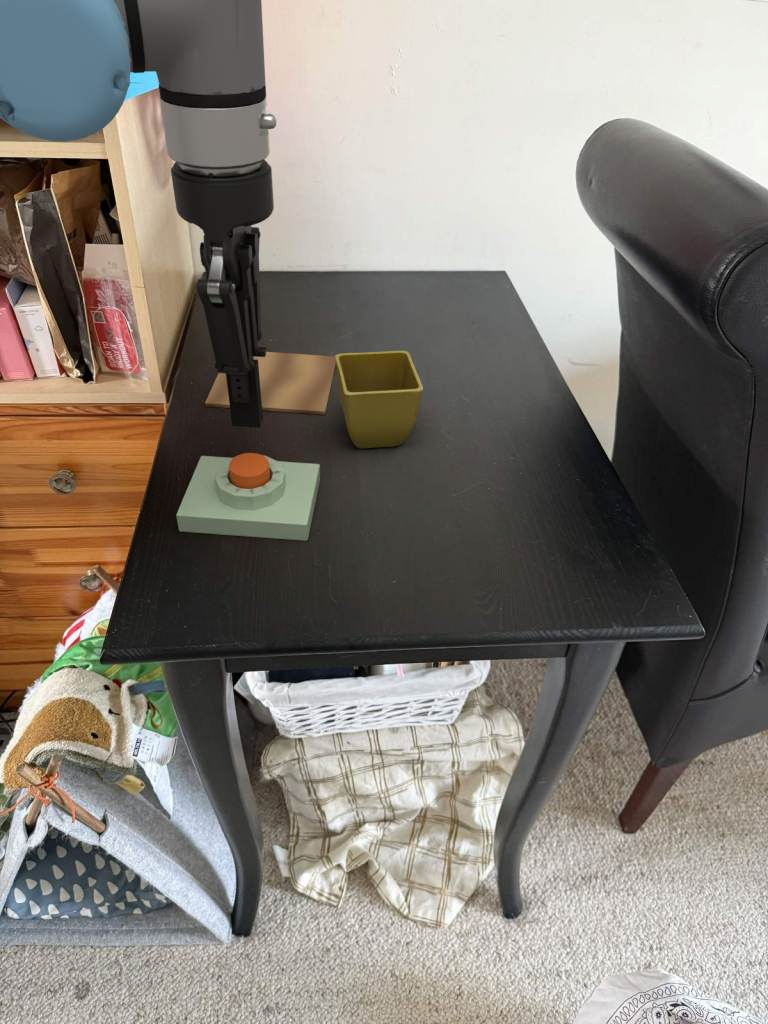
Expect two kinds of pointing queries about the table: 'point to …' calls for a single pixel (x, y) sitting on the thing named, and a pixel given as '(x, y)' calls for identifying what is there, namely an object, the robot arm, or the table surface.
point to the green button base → (250, 501)
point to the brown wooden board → (286, 383)
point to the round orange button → (249, 470)
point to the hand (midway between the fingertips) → (247, 422)
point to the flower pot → (378, 396)
